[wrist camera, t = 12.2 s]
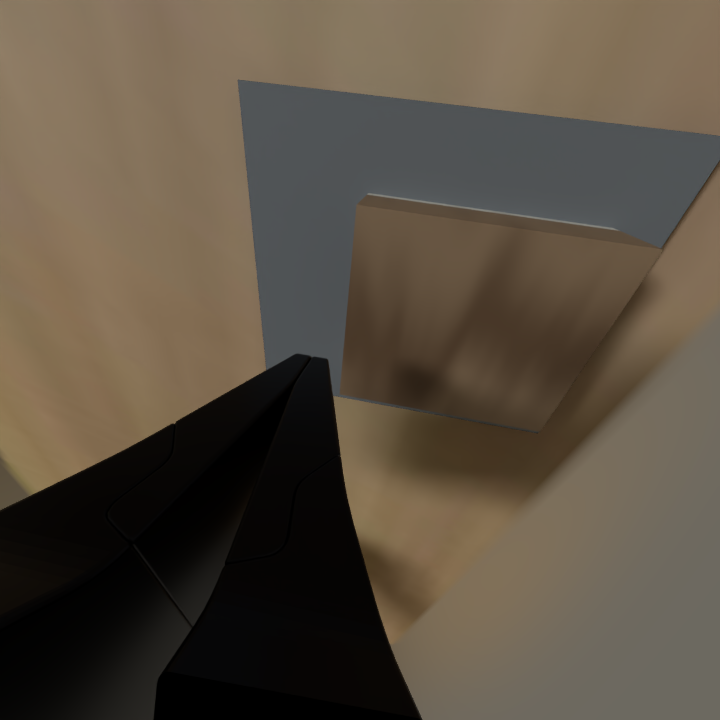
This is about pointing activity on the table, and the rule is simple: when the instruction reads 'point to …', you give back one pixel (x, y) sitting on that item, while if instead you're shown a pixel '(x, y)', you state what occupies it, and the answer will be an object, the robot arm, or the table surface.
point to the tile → (480, 307)
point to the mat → (431, 188)
